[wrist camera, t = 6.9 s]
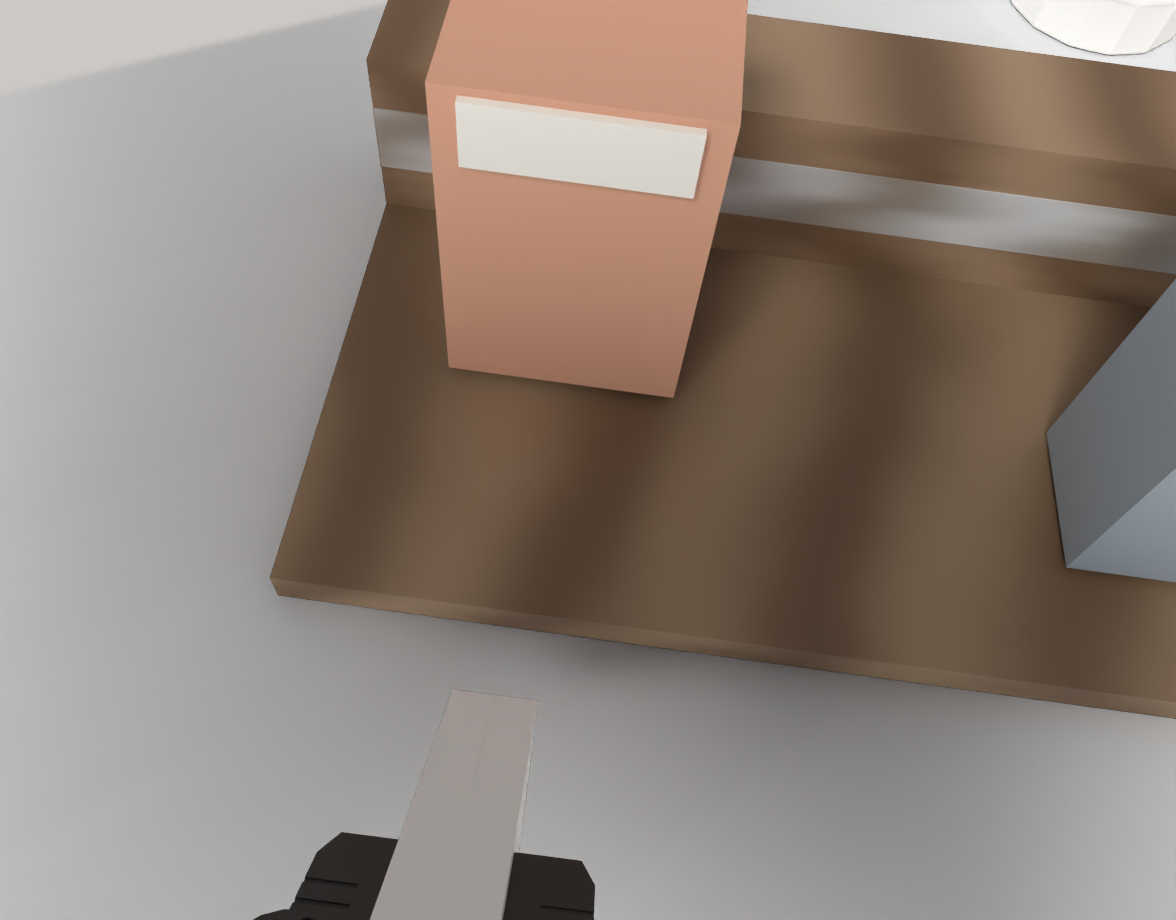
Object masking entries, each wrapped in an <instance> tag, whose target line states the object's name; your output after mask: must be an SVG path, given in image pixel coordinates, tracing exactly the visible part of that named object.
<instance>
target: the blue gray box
mask: <svg viewBox="0 0 1176 920" xmlns="http://www.w3.org/2000/svg"><path fill="white" fill-rule="evenodd" d="M1047 439H1048V446H1049V453H1050V460H1051V466H1052V473H1053V480H1054V487H1055V494H1056V501H1057V508H1058V515H1059V521H1060V528H1061V535H1062V542H1063V549H1064V556H1065V563H1066V567H1067V568H1074V569H1081V570H1089V571H1096V572H1103V573H1111V574H1118V575H1125V576H1133V577H1140V578H1147V579H1155V580H1162V581H1169V582H1176V279H1175V280H1174V282H1173V283H1172V284H1171V285H1170V286H1169V288H1168V289H1167V290H1166V291H1165V292H1164V294H1163V295H1162V296H1161V297H1160V298H1159V299H1158V301H1157V302H1156V303H1155V304H1154V305H1153V307H1152V308H1151V309H1150V310H1149V311H1148V313H1147V314H1146V315H1145V316H1144V317H1143V318H1142V320H1141V321H1140V322H1139V323H1138V324H1137V326H1136V327H1135V328H1134V329H1133V330H1132V332H1131V333H1130V334H1129V335H1128V336H1127V337H1126V339H1125V340H1124V341H1123V342H1122V343H1121V345H1120V346H1119V347H1118V348H1117V349H1116V351H1115V352H1114V353H1113V354H1112V355H1111V356H1110V358H1109V359H1108V360H1107V361H1106V362H1105V364H1104V365H1103V366H1102V367H1101V368H1100V370H1099V371H1098V372H1097V373H1096V374H1095V375H1094V377H1093V378H1092V379H1091V380H1090V381H1089V383H1088V384H1087V385H1086V386H1085V387H1084V389H1083V390H1082V391H1081V392H1080V393H1079V394H1078V396H1077V397H1076V398H1075V399H1074V400H1073V402H1072V403H1071V404H1070V405H1069V406H1068V408H1067V409H1066V410H1065V411H1064V412H1063V414H1062V415H1061V416H1060V417H1059V418H1058V419H1057V421H1056V422H1055V423H1054V424H1053V425H1052V427H1051V428H1050V429H1049V430H1048V431H1047Z"/></svg>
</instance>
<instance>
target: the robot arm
mask: <svg viewBox="0 0 1176 920" xmlns="http://www.w3.org/2000/svg"><path fill="white" fill-rule="evenodd" d="M537 706H538V700H531V699H523V698H515V697H508V696H500V695H492V694H485V693H477V692H469V691H461V690H454V689H452V692H451V695H450V698H449V700H448V703H447V706H446V709H445V712H444V714H443V717H442V720H441V723H440V725H439V728H438V731H437V734H436V737H435V739H434V742H433V745H432V748H431V751H430V753H429V756H428V759H427V762H426V764H425V767H424V770H423V773H422V776H421V778H420V781H419V784H418V787H417V790H416V792H415V795H414V798H413V801H412V803H411V806H410V809H409V812H408V815H407V817H406V820H405V823H404V826H403V829H402V831H401V834H400V837H399V840H397V839H390V838H382V837H374V836H367V835H359V834H351V833H344V832H341V833H340V834H339V835H338V836H336V837H335V838H334V839H333V840H331V841H330V842H329V843H328V844H326V845H325V846H324V847H323V848H322V849H320V850H319V851H318V852H317V853H316V855H315V857H314V860H313V862H312V864H311V866H310V868H309V870H308V872H307V874H306V876H305V881H304V882H302V885H301V887H300V889H299V891H298V893H297V895H296V897H295V902H293V903H292V905H291V907H290V909H283V910H279V911H276V912H272V913H268V914H264V915H261V916H259V917H257V918H255V919H254V920H594V917H593V916H594V897H595V885H594V883H593V881H592V879H591V877H590V876H589V874H588V872H587V870H586V868H585V866H584V864H583V863H582V861H578V860H571V859H563V858H555V857H548V856H540V855H532V854H524V853H519V848H520V841H521V834H522V826H523V818H524V810H525V802H526V794H527V786H528V778H529V770H530V762H531V754H532V746H533V738H534V730H535V722H536V714H537Z"/></svg>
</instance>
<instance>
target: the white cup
mask: <svg viewBox="0 0 1176 920" xmlns="http://www.w3.org/2000/svg"><path fill="white" fill-rule="evenodd" d="M1011 3H1012V4H1013V5H1014V7H1015V8H1016V9H1017V10H1018V11H1019V12H1020V13H1021V14H1022V15H1023V16H1024V17H1025V18H1026V19H1027V20H1028V21H1029V22H1030V23H1031V24H1032V25H1033V26H1034V27H1035V28H1037V29H1038V30H1040V31H1042V32H1044V33H1046V34H1048V35H1050V36H1051V37H1053V38H1055V39H1057V40H1059V41H1061V42H1063V43H1065V44H1067V45H1069V46H1072V47H1076V48H1080V49H1084V50H1089V51H1093V52H1097V53H1102V54H1106V55H1119V54H1139V53H1146V52H1148V51H1150V50H1152V49H1154V48H1156V47H1158V46H1160V45H1162V44H1164V43H1165V42H1167V41H1169V40H1171V39H1172V38H1173V36H1174V35H1175V34H1176V0H1011Z"/></svg>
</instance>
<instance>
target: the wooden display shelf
mask: <svg viewBox="0 0 1176 920" xmlns="http://www.w3.org/2000/svg"><path fill="white" fill-rule="evenodd" d="M449 3H450V0H388V2H387V5H386V7H385V10H384V13H383V16H382V18H381V21H380V24H379V27H378V29H377V32H376V35H375V38H374V40H373V43H372V46H371V49H370V51H369V54H368V57H367V67H368V74H369V81H370V88H371V95H372V102H373V114H374V121H375V128H376V135H377V142H378V150H379V157H380V164H381V167H382V174H383V181H384V189H385V196H386V203H387V204H386V207H385V210H384V214H383V217H382V220H381V223H380V226H379V230H378V233H377V236H376V239H375V242H374V246H373V249H372V252H371V255H370V258H369V262H368V265H367V268H366V271H365V274H364V278H363V281H362V284H361V287H360V290H359V294H358V297H357V300H356V303H355V306H354V310H353V313H352V316H351V319H350V322H349V326H348V329H347V332H346V335H345V339H344V342H343V345H342V348H341V351H340V355H339V358H338V361H337V364H336V367H335V371H334V374H333V377H332V380H331V383H330V387H329V390H328V393H327V396H326V399H325V403H324V406H323V409H322V412H321V415H320V419H319V422H318V425H317V428H316V431H315V435H314V438H313V441H312V444H311V447H310V451H309V454H308V457H307V460H306V464H305V467H304V470H303V473H302V476H301V480H300V483H299V486H298V489H297V492H296V496H295V499H294V502H293V505H292V508H291V512H290V515H289V518H288V521H287V524H286V528H285V531H284V534H283V537H282V540H281V544H280V547H279V550H278V553H277V556H276V560H275V563H274V566H273V569H272V572H271V576H270V580H271V582H272V584H273V586H274V588H275V590H276V592H277V594H278V595H280V596H287V597H294V598H301V599H309V600H316V601H323V602H331V603H338V604H345V605H352V606H360V607H367V608H374V609H381V610H389V611H396V612H403V613H411V614H418V615H425V616H432V617H440V618H447V619H454V620H462V621H469V622H476V623H483V624H491V625H498V626H505V627H513V628H520V629H527V630H534V631H542V632H549V633H556V634H563V635H571V636H578V637H585V638H593V639H600V640H607V641H614V642H622V643H629V644H636V645H644V646H651V647H658V648H665V649H673V650H680V651H687V652H695V653H702V654H709V655H716V656H724V657H731V658H738V659H746V660H753V661H760V662H767V663H775V664H782V665H789V666H796V667H804V668H811V669H818V670H826V671H833V672H840V673H847V674H855V675H862V676H869V677H877V678H884V679H891V680H898V681H906V682H913V683H920V684H928V685H935V686H942V687H949V688H957V689H964V690H971V691H978V692H986V693H993V694H1000V695H1008V696H1015V697H1022V698H1029V699H1037V700H1044V701H1051V702H1059V703H1066V704H1073V705H1080V706H1088V707H1095V708H1102V709H1110V710H1117V711H1124V712H1131V713H1139V714H1146V715H1153V716H1161V717H1168V718H1175V719H1176V582H1169V581H1162V580H1155V579H1147V578H1140V577H1133V576H1125V575H1118V574H1111V573H1103V572H1096V571H1089V570H1081V569H1074V568H1067V567H1066V563H1065V556H1064V549H1063V542H1062V535H1061V528H1060V521H1059V515H1058V508H1057V501H1056V494H1055V487H1054V480H1053V473H1052V466H1051V460H1050V453H1049V446H1048V439H1047V431H1048V430H1049V429H1050V428H1051V427H1052V425H1053V424H1054V423H1055V422H1056V421H1057V419H1058V418H1059V417H1060V416H1061V415H1062V414H1063V412H1064V411H1065V410H1066V409H1067V408H1068V406H1069V405H1070V404H1071V403H1072V402H1073V400H1074V399H1075V398H1076V397H1077V396H1078V394H1079V393H1080V392H1081V391H1082V390H1083V389H1084V387H1085V386H1086V385H1087V384H1088V383H1089V381H1090V380H1091V379H1092V378H1093V377H1094V375H1095V374H1096V373H1097V372H1098V371H1099V370H1100V368H1101V367H1102V366H1103V365H1104V364H1105V362H1106V361H1107V360H1108V359H1109V358H1110V356H1111V355H1112V354H1113V353H1114V352H1115V351H1116V349H1117V348H1118V347H1119V346H1120V345H1121V343H1122V342H1123V341H1124V340H1125V339H1126V337H1127V336H1128V335H1129V334H1130V333H1131V332H1132V330H1133V329H1134V328H1135V327H1136V326H1137V324H1138V323H1139V322H1140V321H1141V320H1142V318H1143V317H1144V316H1145V315H1146V314H1147V313H1148V311H1149V310H1150V309H1151V308H1152V307H1153V305H1154V304H1155V303H1156V302H1157V301H1158V299H1159V298H1160V297H1161V296H1162V295H1163V294H1164V292H1165V291H1166V290H1167V289H1168V288H1169V286H1170V285H1171V284H1172V283H1173V282H1174V280H1175V279H1176V72H1172V71H1164V70H1157V69H1150V68H1142V67H1135V66H1127V65H1120V64H1113V63H1105V62H1098V61H1090V60H1083V59H1076V58H1068V57H1061V56H1053V55H1046V54H1039V53H1031V52H1024V51H1016V50H1009V49H1002V48H994V47H987V46H979V45H972V44H965V43H957V42H950V41H942V40H935V39H928V38H920V37H913V36H905V35H898V34H891V33H883V32H876V31H868V30H861V29H854V28H846V27H839V26H831V25H824V24H817V23H809V22H802V21H794V20H787V19H780V18H772V17H765V16H757V15H750V14H747V23H746V41H745V58H744V76H743V94H742V111H741V126H740V130H739V134H738V138H737V142H736V146H735V150H734V154H733V158H732V162H731V166H730V171H729V175H728V179H727V183H726V187H725V191H724V195H723V199H722V203H721V207H720V211H719V215H718V219H717V223H716V227H715V232H714V236H713V240H712V244H711V248H710V252H709V256H708V260H707V264H706V268H705V272H704V276H703V280H702V284H701V288H700V293H699V297H698V301H697V305H696V309H695V313H694V317H693V321H692V325H691V329H690V333H689V337H688V341H687V345H686V350H685V354H684V358H683V362H682V366H681V370H680V374H679V378H678V382H677V386H676V390H675V394H674V398H670V397H663V396H655V395H648V394H641V393H633V392H626V391H619V390H611V389H604V388H597V387H589V386H582V385H575V384H567V383H560V382H553V381H545V380H538V379H531V378H523V377H516V376H509V375H501V374H494V373H487V372H479V371H472V370H465V369H457V368H450V367H449V364H448V352H447V340H446V328H445V316H444V304H443V292H442V280H441V268H440V256H439V244H438V232H437V220H436V208H435V196H434V184H433V172H432V160H431V148H430V136H429V124H428V112H427V101H426V89H425V80H426V77H427V74H428V71H429V67H430V64H431V61H432V58H433V55H434V51H435V48H436V45H437V42H438V39H439V35H440V32H441V29H442V26H443V23H444V19H445V16H446V13H447V10H448V7H449Z"/></svg>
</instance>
